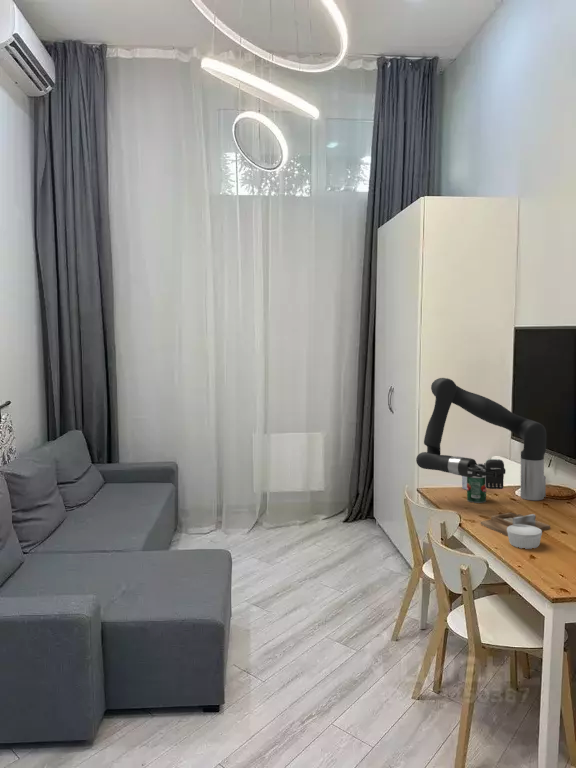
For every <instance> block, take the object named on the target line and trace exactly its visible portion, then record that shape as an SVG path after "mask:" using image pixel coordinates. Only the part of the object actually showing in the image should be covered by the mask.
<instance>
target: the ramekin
mask: <svg viewBox="0 0 576 768" xmlns="http://www.w3.org/2000/svg"><path fill="white" fill-rule="evenodd" d="M507 532H508V536H507V537H508V542H509V544H510V545H511V546H513V547H514V548H518V547H519V548H518V549H522V548H525V549H524V550H533V549H532V548H534V549H536V548H538V547H539V546H540V544H541V539H542V535H543V530H541V529H539V528H537V527H534V526H529V525H511V526H508V527H507Z"/></svg>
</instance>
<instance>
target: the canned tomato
mask: <svg viewBox="0 0 576 768" xmlns="http://www.w3.org/2000/svg"><path fill="white" fill-rule="evenodd" d="M466 500H467V502H468V503H469V502H470V503H473V502H474V504H481V503H486V502H487V488H486V487H485V477H484V476H482V477H476V476H473V477H467V490H466Z"/></svg>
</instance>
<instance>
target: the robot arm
mask: <svg viewBox="0 0 576 768" xmlns="http://www.w3.org/2000/svg"><path fill="white" fill-rule="evenodd" d="M430 386H431V387H430V389H431V393H432V394H433V396H434V397H435V402H434V406H433V407H434V408H433V411H432V414H431V415H430V418H429V419H428V420H429V421H428V423H427V426H426V431H425V435H424V438H423V444H424V445H425V446H426V451H422V452H420V453H419V454H417V456H416V458H415V459H416V461H415V462H416V465H417V466H418V467H419V468H421V469H424V470H431V471H432V470H433V471H441V472H443V473H448V474H452V475H455V476H456V475H457V476H461V477H462V476H465V477H473V476H476V477H482V476H484V477H486V476H488V477H493V478H495V477H496V472H494V471H488V470H487V471H486V470H485V462H484V463H477V461H476V459H474V458H471V457H463V456H456V455H453V456H452V455H446V454H441V443H442V439H443V433H444V430H445V426H446V421H447V418H448V415H449V412H450V409H451V406H452V404H454V405H456V406H458V407H460V408H461V409H463V410H464V411H465V412H468V413H470V414H471V415H473V416H475V417H477V418H479V419H480V420H482V421H485V422H487V423H489V424H492V425H494V426H498V427H500V428H504V429H506V430H508V431H510V432H512V433H513V434H514V435H516V436H518V437H519V438H521V439H522V440H523V449H522V450H521V451H520V498H521V499H524V500H526V501H542V500H544V499H545V498H546V490H547V489H546V487H547V486H546V485H547V481H546V478H547V476H546V475H545V454H546V451H547V430H546V427H545V426H544V425H543V424H542V423H540V422H538V421H535V420H532V419H528V418H526V417H523V416H521V415H518V414H515V413H514V412H511V411H510V410H509V409H507V408H506V407H505V406H503V405H502V404H500V403H498V402H496V401H494V400H492V399H490V398H488V397H485V396H482V395H480V394H477V393H475V392H471V391H468V390H466V389H464V388H461V386H458V385H457V384H456V382H455V381H454V380H452V379H450V378H448V377H447V378H446V377H438V378H437V379H435V380H434V381H432V383H431V385H430ZM504 475H506V468H505V467H504ZM544 497H545V498H544Z"/></svg>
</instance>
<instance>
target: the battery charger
mask: <svg viewBox="0 0 576 768" xmlns="http://www.w3.org/2000/svg"><path fill="white" fill-rule="evenodd" d="M484 463H485V470H486V471H487V470H488V471H494V472H496V477H495V478H493V477H488V476H486V477H485V487H486V489H489V490H502V489H504V477H505V474H504V468H505V463H504V461H503V460H502V459H497V458H495V459H494V458H490V459H487V460H485V462H484Z"/></svg>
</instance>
